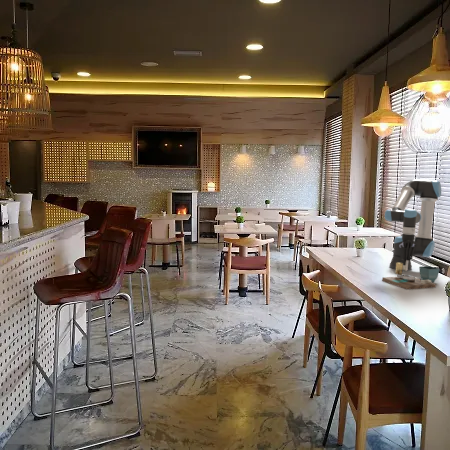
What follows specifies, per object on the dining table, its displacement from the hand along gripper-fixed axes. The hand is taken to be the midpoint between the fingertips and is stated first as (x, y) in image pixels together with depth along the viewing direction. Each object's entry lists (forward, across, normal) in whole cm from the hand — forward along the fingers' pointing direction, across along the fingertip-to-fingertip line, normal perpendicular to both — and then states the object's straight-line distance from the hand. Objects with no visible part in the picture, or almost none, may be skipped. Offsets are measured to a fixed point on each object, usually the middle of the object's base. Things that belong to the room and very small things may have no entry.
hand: (405, 270), depth 305 cm
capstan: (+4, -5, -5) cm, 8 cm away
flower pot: (+7, +14, -6) cm, 17 cm away
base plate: (+7, -5, -9) cm, 12 cm away
